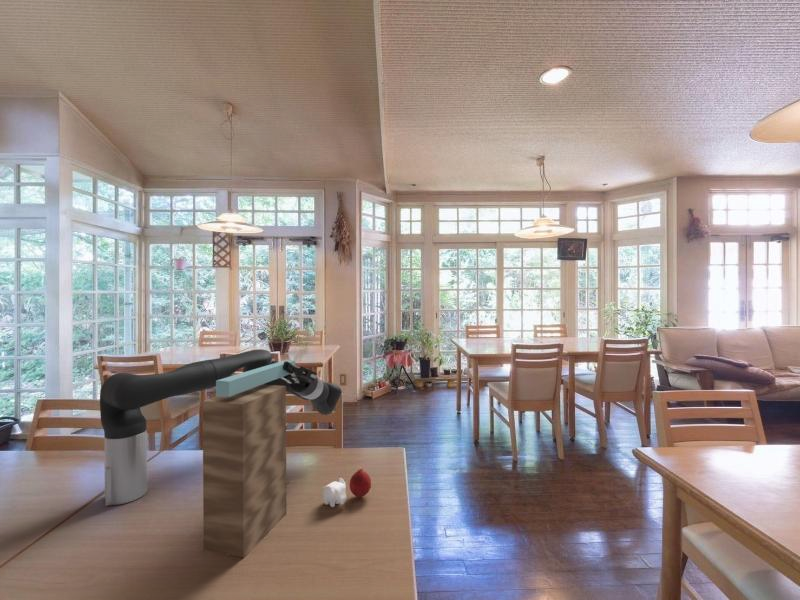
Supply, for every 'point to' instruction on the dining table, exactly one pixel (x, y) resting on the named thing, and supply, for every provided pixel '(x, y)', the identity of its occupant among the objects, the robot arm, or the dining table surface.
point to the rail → (250, 379)
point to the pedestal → (243, 468)
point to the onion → (360, 483)
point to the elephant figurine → (334, 493)
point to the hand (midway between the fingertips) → (278, 364)
